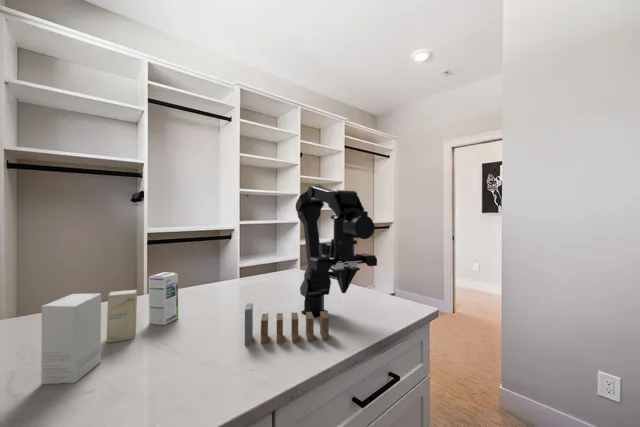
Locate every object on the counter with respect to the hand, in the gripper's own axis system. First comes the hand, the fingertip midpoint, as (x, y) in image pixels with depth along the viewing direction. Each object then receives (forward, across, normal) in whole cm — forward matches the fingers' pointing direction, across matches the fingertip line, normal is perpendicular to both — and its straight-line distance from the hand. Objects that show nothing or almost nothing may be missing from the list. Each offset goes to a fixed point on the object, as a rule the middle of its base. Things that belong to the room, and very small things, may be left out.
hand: (343, 292), depth 79 cm
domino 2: (+12, +16, -5) cm, 21 cm away
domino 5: (+12, +5, -2) cm, 13 cm away
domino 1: (+12, +20, -6) cm, 24 cm away
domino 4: (+12, +9, -3) cm, 15 cm away
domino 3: (+12, +13, -4) cm, 18 cm away
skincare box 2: (+12, +54, -23) cm, 60 cm away
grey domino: (+12, +24, -8) cm, 28 cm away
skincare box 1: (+12, +60, -7) cm, 62 cm away
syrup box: (+12, +45, -32) cm, 56 cm away
